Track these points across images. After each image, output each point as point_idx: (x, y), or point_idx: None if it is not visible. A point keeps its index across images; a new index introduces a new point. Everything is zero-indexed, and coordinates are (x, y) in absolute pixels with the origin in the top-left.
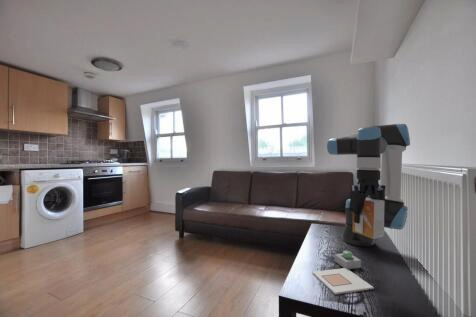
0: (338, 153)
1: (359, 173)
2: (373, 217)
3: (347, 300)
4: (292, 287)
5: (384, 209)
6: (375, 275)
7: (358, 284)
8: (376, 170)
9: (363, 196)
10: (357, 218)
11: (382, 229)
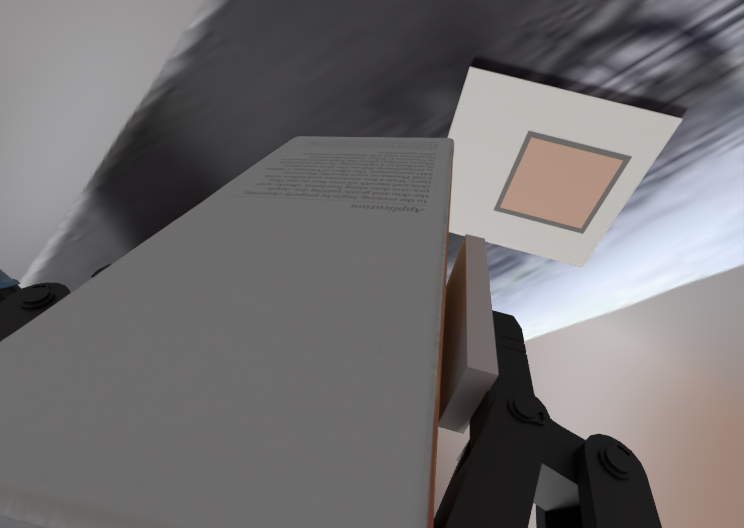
0: None
1: None
2: (446, 244)
3: (681, 58)
4: None
5: (35, 310)
6: (348, 135)
7: (509, 114)
8: None
9: None
10: (521, 360)
11: (294, 155)
